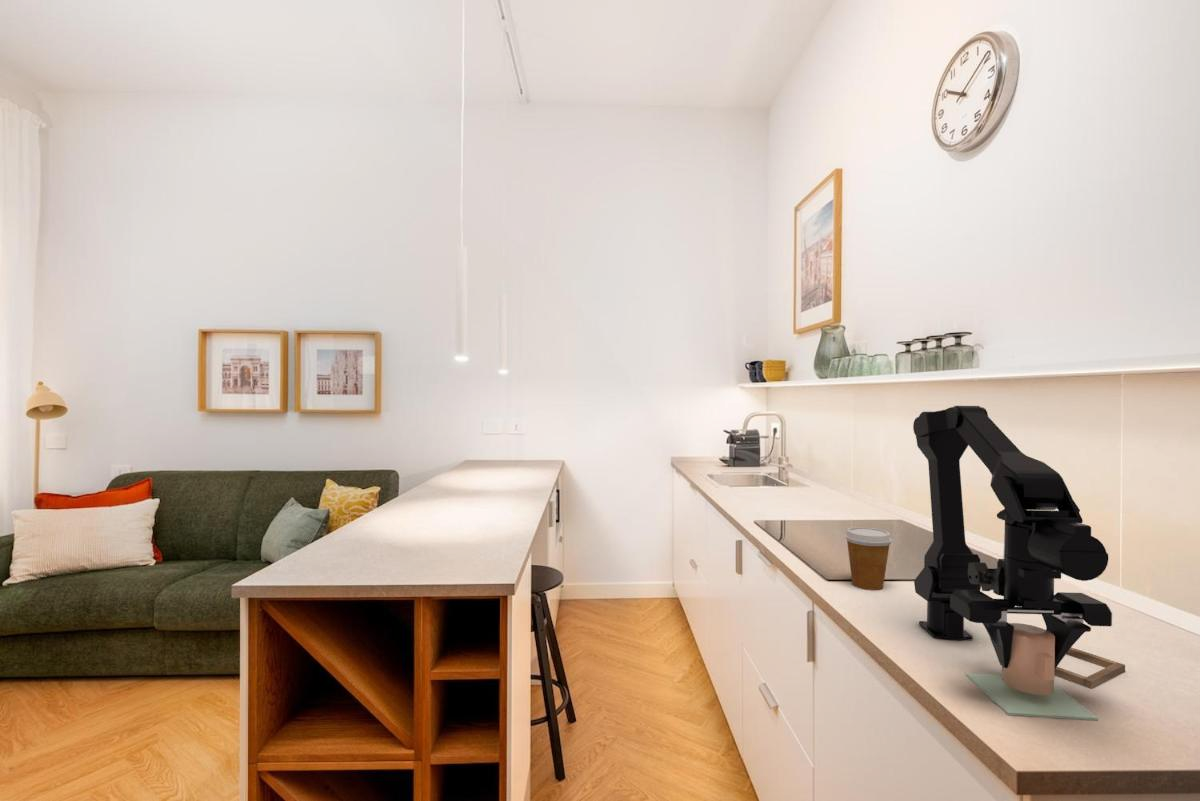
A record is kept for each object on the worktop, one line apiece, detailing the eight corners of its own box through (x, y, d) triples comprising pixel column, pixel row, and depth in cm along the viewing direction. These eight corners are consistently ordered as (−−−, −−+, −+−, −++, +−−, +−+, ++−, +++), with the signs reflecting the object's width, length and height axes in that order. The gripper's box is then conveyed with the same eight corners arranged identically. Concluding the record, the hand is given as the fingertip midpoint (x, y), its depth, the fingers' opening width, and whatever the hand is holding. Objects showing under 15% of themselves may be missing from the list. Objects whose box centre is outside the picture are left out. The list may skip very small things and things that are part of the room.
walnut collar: (1008, 658, 94) (1008, 652, 94) (1043, 644, 100) (1043, 638, 100) (1091, 688, 85) (1091, 681, 85) (1125, 671, 90) (1125, 664, 90)
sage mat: (965, 675, 89) (965, 673, 89) (1043, 679, 87) (1043, 677, 87) (1008, 715, 78) (1008, 712, 78) (1098, 720, 76) (1098, 718, 76)
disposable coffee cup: (877, 578, 135) (878, 526, 135) (900, 592, 125) (900, 536, 125) (837, 578, 135) (837, 526, 134) (856, 592, 125) (857, 537, 125)
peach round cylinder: (992, 673, 86) (993, 622, 86) (1035, 674, 85) (1035, 623, 85) (1025, 699, 78) (1026, 644, 78) (1072, 701, 78) (1073, 645, 78)
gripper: (1057, 544, 90) (1055, 644, 90) (931, 541, 91) (930, 641, 91) (1116, 565, 79) (1114, 680, 79) (972, 562, 80) (971, 676, 80)
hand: (1027, 667), depth 83 cm, fingers closed on peach round cylinder, 6 cm apart
